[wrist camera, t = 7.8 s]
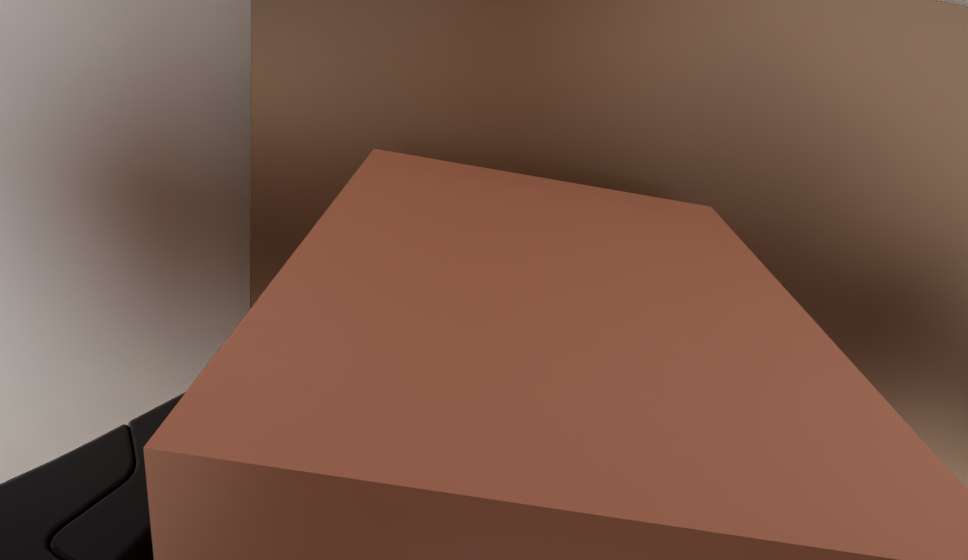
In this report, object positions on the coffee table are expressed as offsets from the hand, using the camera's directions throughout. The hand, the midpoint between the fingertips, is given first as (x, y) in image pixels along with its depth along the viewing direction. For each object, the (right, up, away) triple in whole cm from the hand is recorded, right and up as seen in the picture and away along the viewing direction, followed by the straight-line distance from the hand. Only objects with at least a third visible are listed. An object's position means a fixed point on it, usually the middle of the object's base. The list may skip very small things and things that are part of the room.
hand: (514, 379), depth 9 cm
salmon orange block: (0, +1, +1) cm, 2 cm away
